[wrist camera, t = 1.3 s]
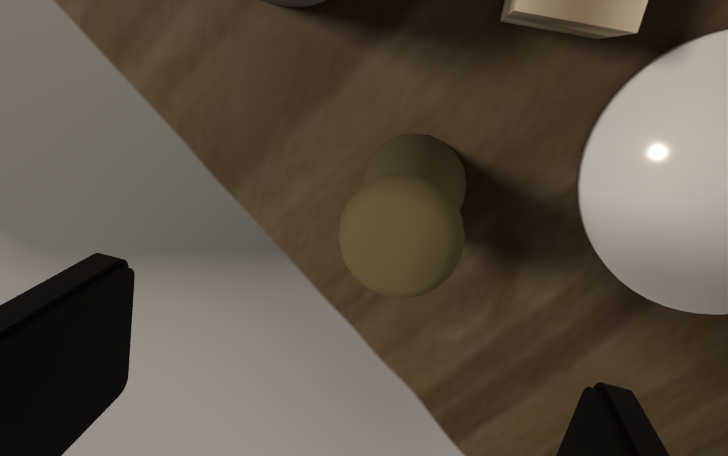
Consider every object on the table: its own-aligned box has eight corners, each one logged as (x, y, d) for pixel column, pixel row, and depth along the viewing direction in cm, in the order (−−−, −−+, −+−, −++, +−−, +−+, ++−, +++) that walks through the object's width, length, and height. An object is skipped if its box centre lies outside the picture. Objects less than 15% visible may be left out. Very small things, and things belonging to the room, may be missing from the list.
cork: (351, 217, 31) (305, 294, 21) (378, 120, 29) (341, 152, 19) (448, 246, 31) (448, 340, 21) (481, 150, 29) (500, 200, 19)
